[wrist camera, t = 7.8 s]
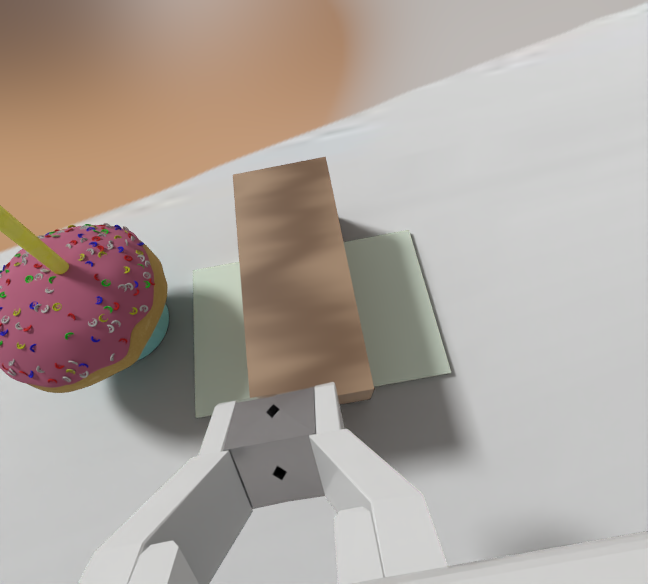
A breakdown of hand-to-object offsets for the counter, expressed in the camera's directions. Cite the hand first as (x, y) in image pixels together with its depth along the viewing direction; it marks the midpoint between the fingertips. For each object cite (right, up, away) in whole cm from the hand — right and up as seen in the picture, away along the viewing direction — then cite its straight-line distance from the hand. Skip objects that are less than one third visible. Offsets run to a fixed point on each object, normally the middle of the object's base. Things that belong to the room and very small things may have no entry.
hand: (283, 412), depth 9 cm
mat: (0, +2, +12) cm, 12 cm away
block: (+1, -2, +7) cm, 8 cm away
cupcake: (-11, +1, +13) cm, 17 cm away
